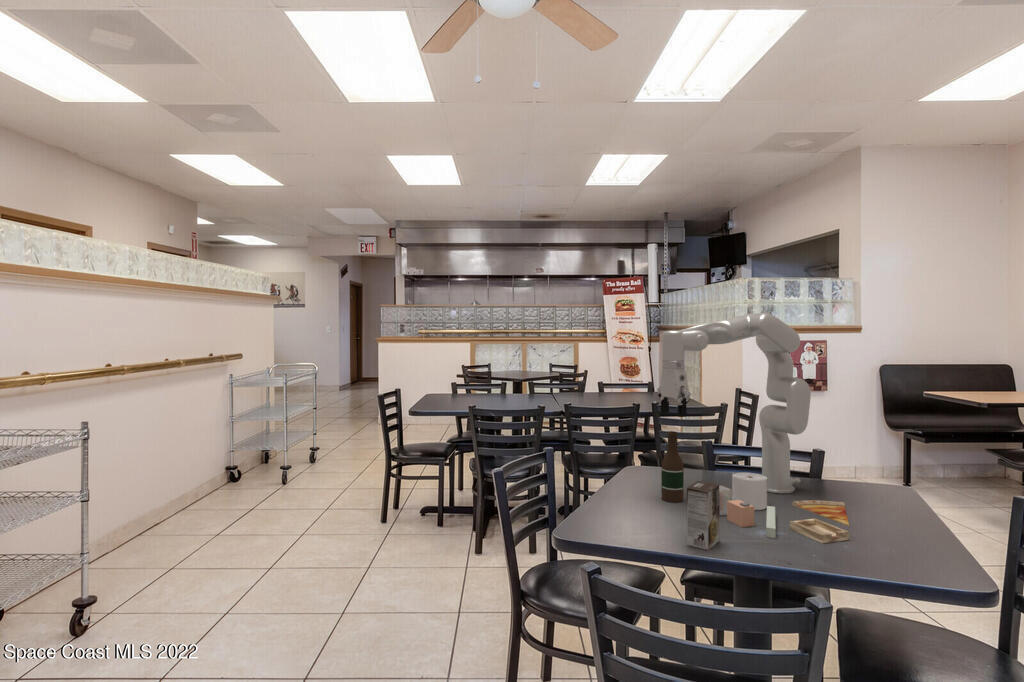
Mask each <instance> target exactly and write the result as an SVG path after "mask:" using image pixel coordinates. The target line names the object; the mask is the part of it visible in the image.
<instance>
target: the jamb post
mask: <svg viewBox="0 0 1024 682" xmlns="http://www.w3.org/2000/svg"><path fill="white" fill-rule="evenodd" d="M727 501H732V488H729V487H726V486H724V485H719V506H720V516H727Z"/></svg>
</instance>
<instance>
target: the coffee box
mask: <svg viewBox="0 0 1024 682" xmlns="http://www.w3.org/2000/svg"><path fill="white" fill-rule="evenodd" d="M719 486H720V484H716V483H710V482H707V481H703V480H702V481H701V480H697V481H696V482H694V483H692V484H691V485H689V486H688V487H686V545H687V546H691V547H694V548H699V549H701V550H706V549H707V550H706V551H710V549H712V548H713V547H714V546H715V545H716V544H718V542H720V540H721V536H720V533H721V531H720V528H721V525H720V524H721V523H720V522H721V521H720V516H721V515H720V506H719Z"/></svg>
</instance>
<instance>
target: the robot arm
mask: <svg viewBox="0 0 1024 682" xmlns="http://www.w3.org/2000/svg"><path fill="white" fill-rule="evenodd" d="M753 337H755V344H756V346H757V347H758V348H759V349H760V351H761V352H762V353H763V354H764V355H765V358H766V359H767V362H768V363H767V364H768V365H767V366H768V367H767V368H768V369H767V377H766V378H767V379H766V387H765V389H766V390H765V392H766V396H767V397H768V398H769V399H770V400H771V401H774V402H779V403H785V404H786V406H785V405H780V404H768V405H765V406H764V407H762V408H761V410H760V412H759V415H758V419H759V420H758V421H759V426H760V431H761V475H763V476H766V477H767V493H772V494H792V493H794V492H795V490H796V488H795V486H793V485H794V484H800V483H801V478H800V477H792V476H791V441H790V437H789V435H797V436H798V435H801V434H802V433H804V432H805V431H806V429H807V427H808V425H809V424H808V423H809V415H810V405H811V396H812V395H811V388H810V386H809V384H808V382H807V381H806V380H804V379H802V378H799V377H794V361H793V358H792V356H791V354H790V353H794V352H795V351H797V350H798V349H799V347H800V345H801V337H800V335H799V334H798V332H797V331H796V330H795V329H794V328H792V327H791V326H790V325H788V324H786V323H785V322H784V321H782V320H781V319H780V318H778V317H777V316H775V315H774V314H771V313H769V312H768V313H767V312H762V313H761V312H760V313H747V314H743V315H738V316H735V317H731V318H727V319H723V320H717V321H714V322H710V323H704V324H700V325H694V326H691V327H687V328H682V329H679V330H665V331H663V333H662V338H661V339H662V340H661V341H662V342H661V343H662V345H661V346H662V347H661V349H662V350H661V351H662V352H661V353H662V355H661V357H662V359H661V360H662V363H661V364H662V365H661V370H662V371H661V375H660V386H658V388H657V395H658V397H659V402H660V413H661V414H666V413H667V414H668V413H670V401H669V400H670V399H674V400H676V401H677V403H678V404H677V417H679V418H682V417H687V406H688V402H690V398H691V392H690V391H689V385H688V376H687V371H686V369H685V364H686V363H685V358H686V356H685V355H686V354H685V353H686V352H700V351H703V350H704V349H706V348H707V347H708V345H709V346H710V345H725V344H730V343H734V342H738V341H741V340H744V339H750V338H753ZM788 434H789V435H788Z"/></svg>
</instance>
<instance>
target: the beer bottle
mask: <svg viewBox="0 0 1024 682" xmlns="http://www.w3.org/2000/svg"><path fill="white" fill-rule="evenodd" d="M666 435H667V447H666V455H665V456H664V458H663V459H662V463H661V467H660V468H661V471H660V472H661V475H660V476H661V500H663V501H665V502H668V503H682V502H683V500H684V492H685V491H684V486H685V485H684V484H685V483H684V482H685V481H684V479H685V477H684V474H685V473H684V472H685V471H684V467H685V466H684V462H683V459H682V457H681V456H680V453H679V448H678V445H679V444H678V435H679V434H678V432H677V431H672V430H671V431H668V432H667V433H666Z"/></svg>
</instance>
